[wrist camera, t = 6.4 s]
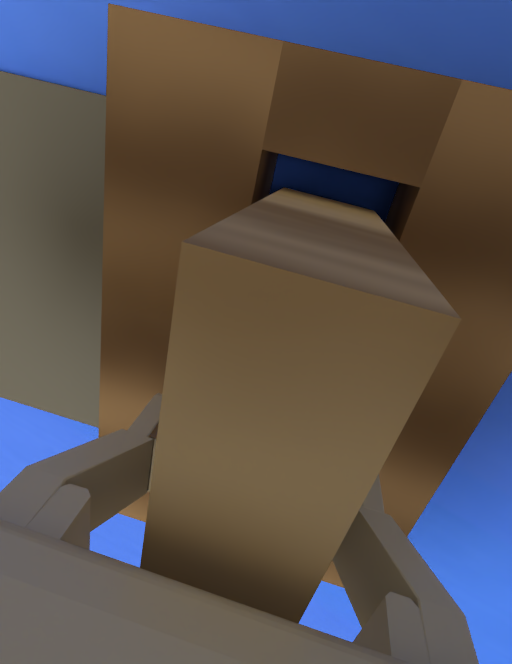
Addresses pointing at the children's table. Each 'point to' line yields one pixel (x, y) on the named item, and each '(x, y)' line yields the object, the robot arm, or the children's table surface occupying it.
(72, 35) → the children's table surface
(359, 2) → the children's table surface
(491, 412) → the children's table surface
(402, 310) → the oak cover plate
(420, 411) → the walnut case
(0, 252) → the grey flat slab
